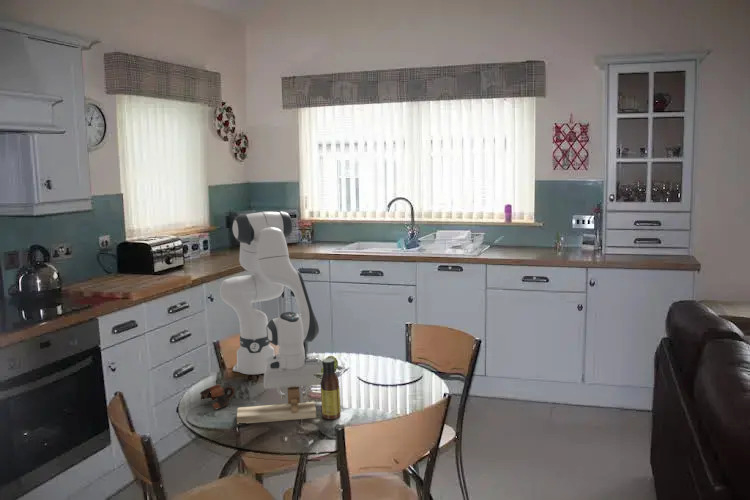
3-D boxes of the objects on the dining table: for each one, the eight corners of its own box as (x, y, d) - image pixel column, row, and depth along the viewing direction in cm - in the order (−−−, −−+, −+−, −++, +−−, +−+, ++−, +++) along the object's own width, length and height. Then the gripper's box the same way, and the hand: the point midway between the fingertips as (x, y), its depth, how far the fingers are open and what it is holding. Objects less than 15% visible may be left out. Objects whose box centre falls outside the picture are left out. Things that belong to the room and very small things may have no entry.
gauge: (288, 404, 239) (287, 383, 238) (299, 403, 240) (298, 382, 238) (289, 421, 224) (288, 399, 223) (301, 420, 225) (300, 398, 224)
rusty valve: (207, 414, 234) (198, 391, 235) (206, 416, 242) (197, 394, 244) (240, 399, 238) (230, 377, 239) (237, 402, 247) (229, 381, 248)
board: (238, 414, 231) (237, 407, 231) (314, 408, 235) (314, 401, 234) (237, 424, 223) (236, 416, 223) (316, 417, 227) (316, 410, 227)
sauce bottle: (331, 411, 232) (329, 355, 229) (344, 415, 228) (342, 358, 225) (317, 417, 227) (315, 360, 224) (331, 422, 223) (329, 364, 220)
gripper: (321, 354, 238) (323, 392, 241) (262, 359, 236) (264, 396, 238) (322, 360, 232) (324, 399, 235) (262, 364, 229) (264, 403, 232)
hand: (293, 398), depth 236 cm, fingers open, 6 cm apart
